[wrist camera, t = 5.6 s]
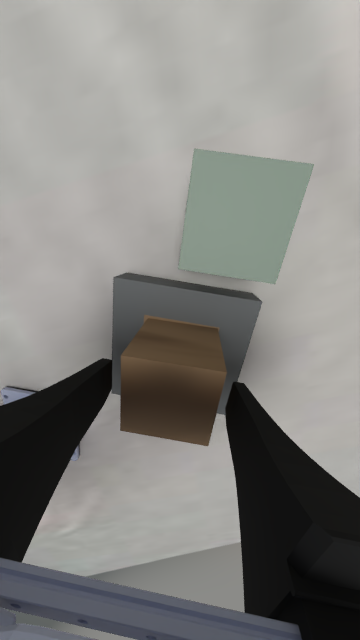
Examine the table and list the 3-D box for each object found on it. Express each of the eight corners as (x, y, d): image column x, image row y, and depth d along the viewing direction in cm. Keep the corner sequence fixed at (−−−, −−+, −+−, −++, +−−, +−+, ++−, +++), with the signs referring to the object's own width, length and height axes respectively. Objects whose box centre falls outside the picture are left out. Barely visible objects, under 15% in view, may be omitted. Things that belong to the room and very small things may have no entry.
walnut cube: (205, 385, 15) (208, 446, 11) (144, 375, 16) (120, 430, 11) (217, 328, 13) (227, 372, 9) (147, 318, 14) (120, 355, 9)
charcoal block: (222, 390, 19) (226, 415, 16) (124, 372, 19) (111, 393, 17) (250, 291, 15) (262, 301, 13) (128, 272, 16) (113, 277, 13)
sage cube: (251, 272, 14) (275, 284, 10) (185, 262, 15) (178, 268, 10) (271, 194, 13) (314, 164, 8) (196, 184, 13) (194, 148, 8)
